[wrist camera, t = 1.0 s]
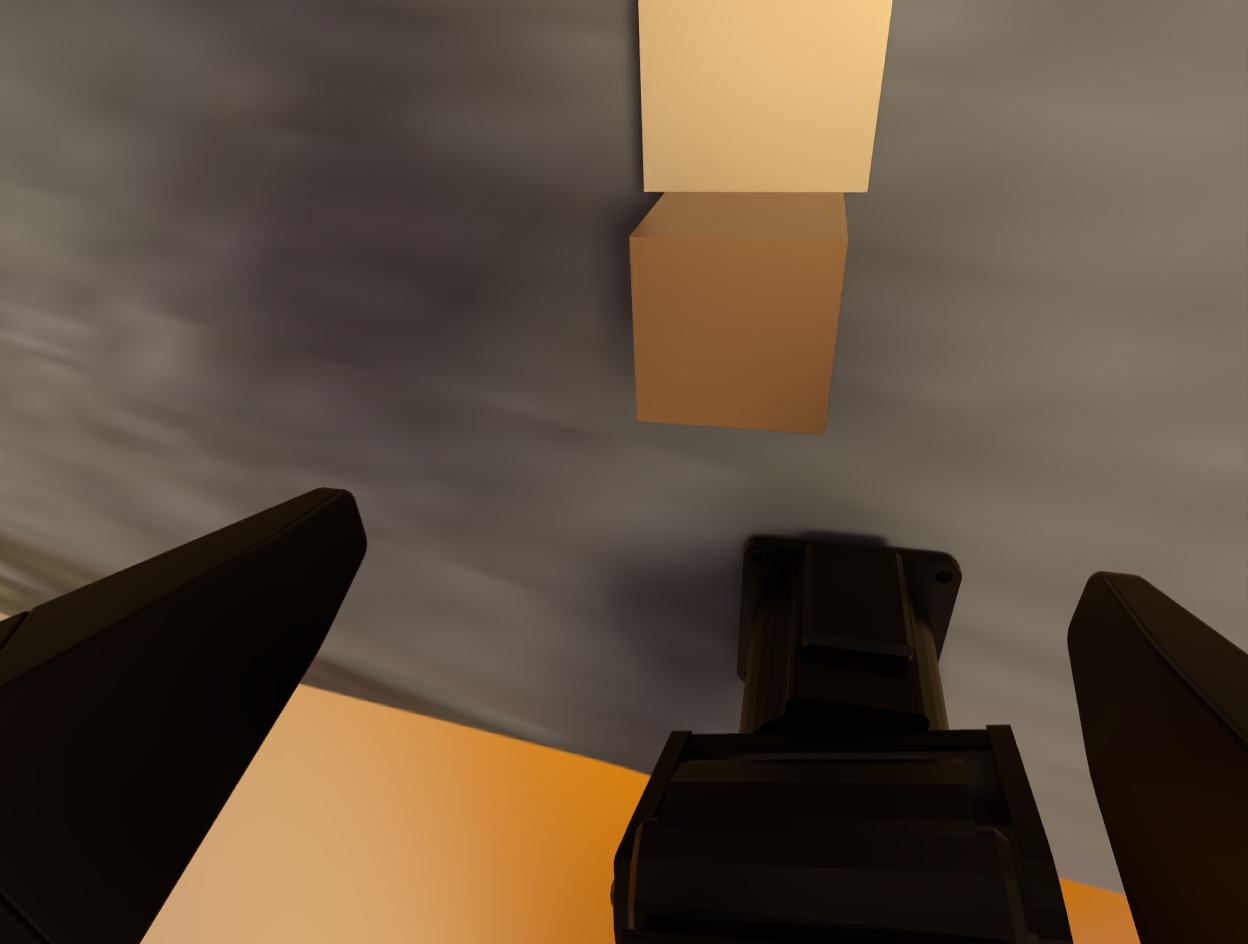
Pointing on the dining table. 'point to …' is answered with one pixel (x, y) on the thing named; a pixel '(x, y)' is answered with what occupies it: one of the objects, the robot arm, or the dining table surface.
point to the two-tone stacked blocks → (749, 203)
